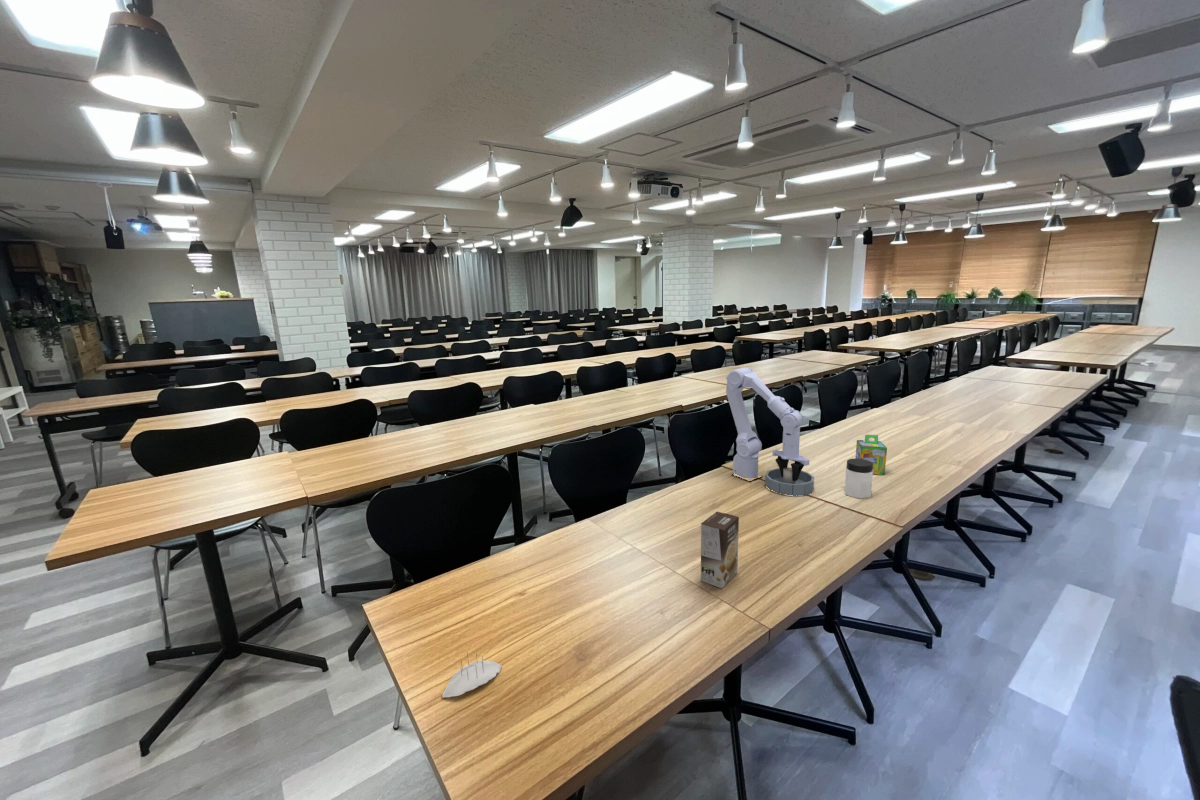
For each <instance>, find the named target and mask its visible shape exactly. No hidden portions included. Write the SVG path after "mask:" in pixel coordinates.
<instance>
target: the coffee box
mask: <svg viewBox="0 0 1200 800" xmlns="http://www.w3.org/2000/svg"><path fill="white" fill-rule="evenodd" d="M739 518H740V517H739V516H737V515H733V514H730V513H726V512H720V511H716V512H714V513H713V514H712V515H710V516H709V517H708V518H707V519H705V520H704V521H702V522H700V531H701V532H700V581H701V582H704V583H707V584H708V585H712V586H714V587H717V588H719V589H723V588H725V586H726V585H727V584H729V582H730V581H731V580H732V579H733V578H734V577H735V576H736V575H737V574H738V565H739V564H738V562H739V559H738V557H739V525H740V524H739V521H740V520H739ZM736 573H737V574H736ZM735 574H736V575H735Z"/></svg>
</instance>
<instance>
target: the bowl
mask: <svg viewBox="0 0 1200 800" xmlns="http://www.w3.org/2000/svg"><path fill="white" fill-rule="evenodd" d="M764 477H765V478H764V486H765V485H766V486H767V487H768V488H769V489H770V490H773V491H775V492H777V493H781V494H787V495H793V496H794V497H799V496H798V495H806V496H808V495H807V494H809V495H810V493H811V494H813V493H812V492H814V489H815V477H814V476H813V474H811V473H810V472H808V471H804V470H803V469H802V470H801V472H800V474H799V477H798V480H797V481H796V483H795V484H790V483H784V482H783V477H781V472H780V469H779V467H778V468H775V467H774V468H773V469H769V470H767V471H766V473H765V475H764ZM777 493H776V494H777ZM796 495H797V496H796ZM793 496H792V497H793Z"/></svg>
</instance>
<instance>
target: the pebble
mask: <svg viewBox="0 0 1200 800" xmlns="http://www.w3.org/2000/svg"><path fill="white" fill-rule="evenodd" d="M783 482H784V483H790V484H795V483H796V481H793V479H792V467H790V466H789V467H788V466H787V468H784V469H783Z"/></svg>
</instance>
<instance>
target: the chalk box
mask: <svg viewBox="0 0 1200 800" xmlns="http://www.w3.org/2000/svg"><path fill="white" fill-rule="evenodd" d="M871 438H873V439H874V440H869V439H871ZM887 454H888V447H887V446H885V443H883V442H882V440H881V441H880V440H879V434H865V435H864V439H857V440H856V445H855V458H854V459H864V460H868V461H870V462H872V463H873V470H872V472H873V475H875V474H876V475H877V476H878V475H880V476H885V472H886V461H887V456H888V455H887Z"/></svg>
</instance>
